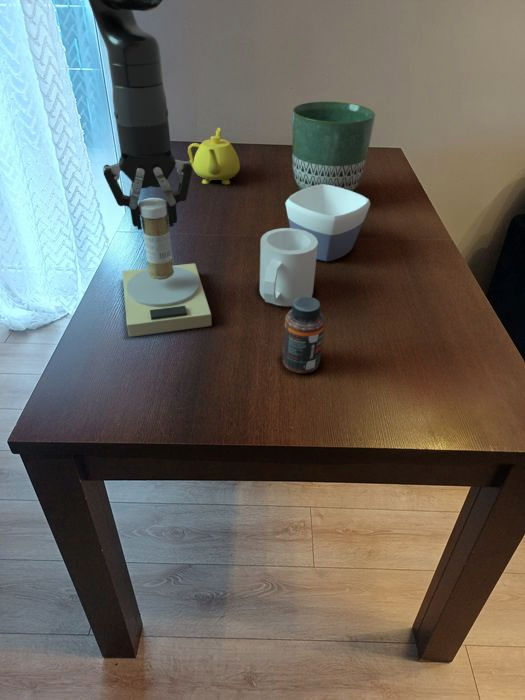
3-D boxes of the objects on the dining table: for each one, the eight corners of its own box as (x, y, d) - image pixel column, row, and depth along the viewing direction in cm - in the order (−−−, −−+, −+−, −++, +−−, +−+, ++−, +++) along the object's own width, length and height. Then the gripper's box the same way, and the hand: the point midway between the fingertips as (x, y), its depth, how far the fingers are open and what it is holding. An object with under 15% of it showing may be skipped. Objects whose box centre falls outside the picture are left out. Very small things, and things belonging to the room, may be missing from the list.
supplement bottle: (321, 376, 76) (329, 315, 69) (282, 375, 76) (286, 314, 69) (318, 351, 81) (325, 292, 73) (281, 350, 81) (285, 291, 73)
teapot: (192, 166, 148) (189, 125, 140) (242, 167, 148) (241, 126, 140) (182, 191, 132) (178, 147, 125) (237, 193, 132) (237, 148, 125)
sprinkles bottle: (169, 266, 91) (162, 195, 82) (177, 277, 88) (170, 205, 79) (145, 271, 89) (135, 199, 81) (152, 283, 86) (142, 209, 78)
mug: (297, 321, 87) (301, 268, 80) (244, 308, 90) (244, 255, 83) (319, 284, 97) (324, 234, 90) (270, 273, 100) (272, 224, 93)
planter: (362, 188, 137) (375, 104, 123) (361, 217, 122) (375, 125, 108) (292, 182, 139) (297, 99, 125) (283, 210, 124) (287, 119, 110)
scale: (129, 337, 83) (126, 322, 81) (124, 282, 96) (121, 268, 94) (211, 325, 85) (210, 311, 84) (195, 274, 99) (194, 260, 97)
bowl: (273, 247, 108) (275, 198, 101) (317, 226, 117) (321, 180, 110) (330, 273, 100) (336, 221, 93) (371, 248, 109) (380, 199, 102)
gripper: (187, 108, 76) (194, 213, 87) (91, 112, 73) (110, 220, 84) (194, 121, 71) (201, 232, 81) (90, 126, 68) (111, 240, 78)
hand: (155, 225), depth 83 cm, fingers closed on sprinkles bottle, 4 cm apart
